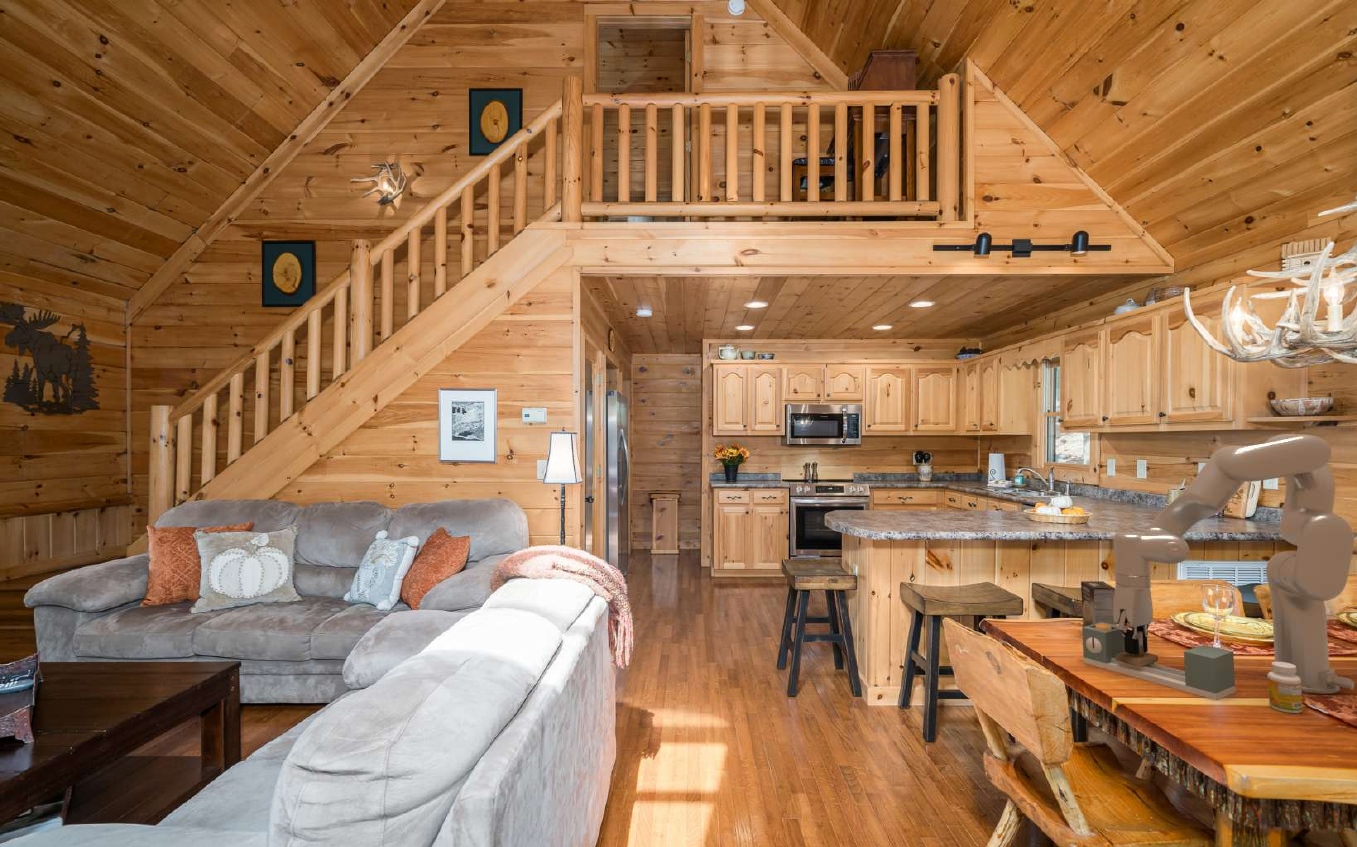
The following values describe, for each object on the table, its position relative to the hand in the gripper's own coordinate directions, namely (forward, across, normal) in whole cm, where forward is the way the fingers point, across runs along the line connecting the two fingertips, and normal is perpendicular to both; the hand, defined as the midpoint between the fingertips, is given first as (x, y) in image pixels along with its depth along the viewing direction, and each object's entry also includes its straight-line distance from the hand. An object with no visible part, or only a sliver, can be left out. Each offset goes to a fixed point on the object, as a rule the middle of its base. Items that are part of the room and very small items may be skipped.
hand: (1136, 651), depth 170 cm
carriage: (+2, 0, 0) cm, 2 cm away
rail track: (+5, 0, +4) cm, 7 cm away
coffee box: (+5, -20, -21) cm, 30 cm away
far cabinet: (+4, 0, -8) cm, 9 cm away
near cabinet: (+4, 0, +16) cm, 16 cm away
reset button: (-2, 0, -8) cm, 8 cm away
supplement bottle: (+5, -2, +29) cm, 30 cm away
